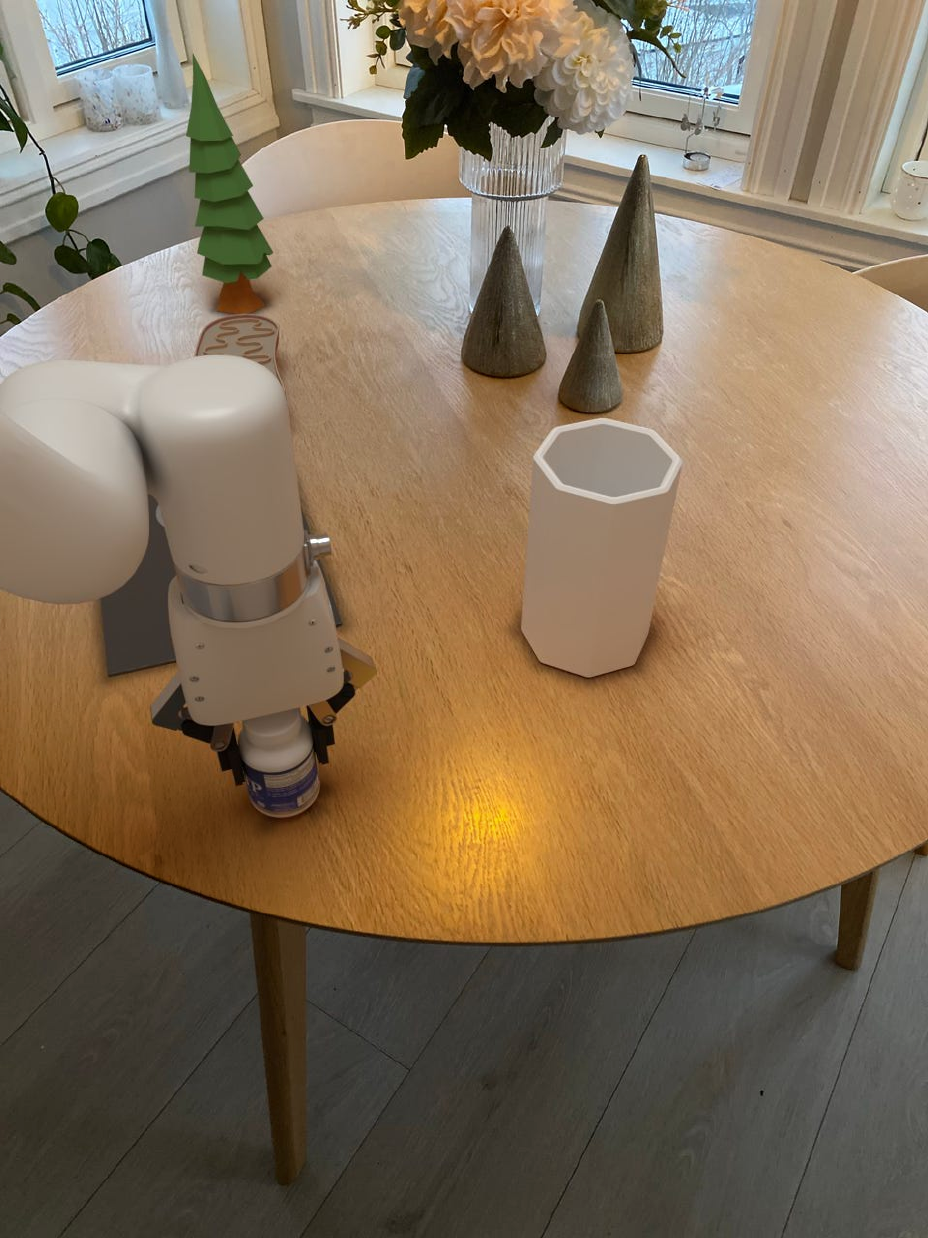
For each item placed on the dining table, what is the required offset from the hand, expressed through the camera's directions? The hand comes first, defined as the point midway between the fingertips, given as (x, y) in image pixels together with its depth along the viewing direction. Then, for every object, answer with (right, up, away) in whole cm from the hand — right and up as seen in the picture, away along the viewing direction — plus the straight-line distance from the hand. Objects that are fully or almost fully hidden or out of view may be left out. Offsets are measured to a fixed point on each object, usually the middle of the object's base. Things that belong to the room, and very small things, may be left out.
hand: (278, 758), depth 68 cm
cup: (+24, +9, +16) cm, 30 cm away
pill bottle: (0, -3, +3) cm, 4 cm away
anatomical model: (-12, +35, +43) cm, 58 cm away
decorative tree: (-16, +52, +61) cm, 82 cm away
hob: (-11, +15, +22) cm, 29 cm away
